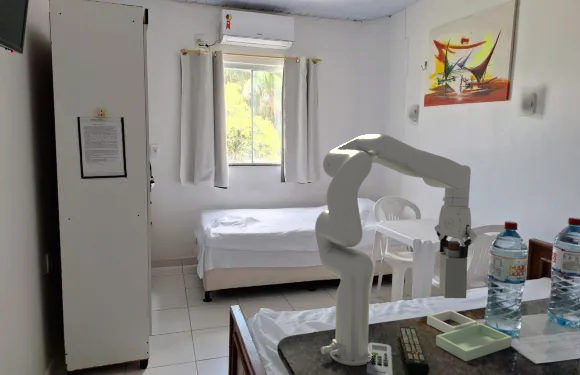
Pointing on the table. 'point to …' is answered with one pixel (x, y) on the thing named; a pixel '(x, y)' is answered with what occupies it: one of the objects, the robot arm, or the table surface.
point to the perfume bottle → (453, 272)
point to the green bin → (473, 341)
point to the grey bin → (438, 319)
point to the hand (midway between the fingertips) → (453, 254)
